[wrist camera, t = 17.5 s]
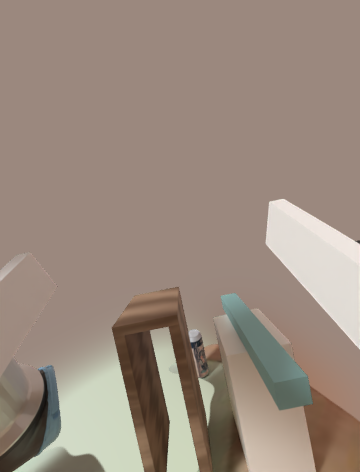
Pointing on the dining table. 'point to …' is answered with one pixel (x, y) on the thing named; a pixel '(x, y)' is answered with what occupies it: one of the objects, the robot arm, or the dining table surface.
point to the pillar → (262, 407)
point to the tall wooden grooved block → (148, 379)
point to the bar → (268, 357)
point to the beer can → (198, 353)
